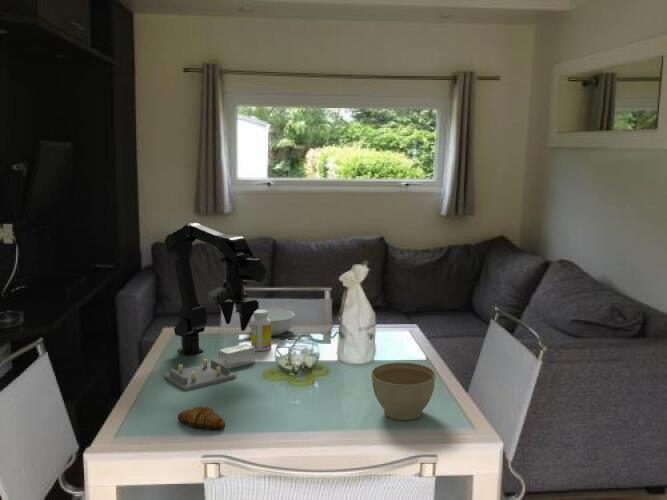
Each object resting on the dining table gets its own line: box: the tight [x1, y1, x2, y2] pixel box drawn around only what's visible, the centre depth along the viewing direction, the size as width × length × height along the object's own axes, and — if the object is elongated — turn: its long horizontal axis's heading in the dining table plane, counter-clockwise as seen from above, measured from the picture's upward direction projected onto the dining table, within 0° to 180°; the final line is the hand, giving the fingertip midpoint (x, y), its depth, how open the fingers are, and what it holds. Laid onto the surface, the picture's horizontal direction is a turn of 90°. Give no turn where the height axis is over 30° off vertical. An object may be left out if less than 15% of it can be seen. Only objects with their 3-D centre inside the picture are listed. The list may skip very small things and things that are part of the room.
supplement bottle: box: [250, 309, 272, 352], centre depth 218 cm, size 7×7×13 cm
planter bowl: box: [370, 361, 437, 421], centre depth 165 cm, size 16×16×11 cm
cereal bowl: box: [248, 308, 296, 337], centre depth 237 cm, size 17×17×7 cm
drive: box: [218, 343, 256, 369], centre depth 204 cm, size 5×10×5 cm, turn 130°
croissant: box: [177, 405, 226, 431], centre depth 159 cm, size 14×7×5 cm, turn 65°
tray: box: [163, 358, 237, 392], centre depth 192 cm, size 14×16×4 cm
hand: (235, 327), depth 202 cm, fingers open, 9 cm apart
